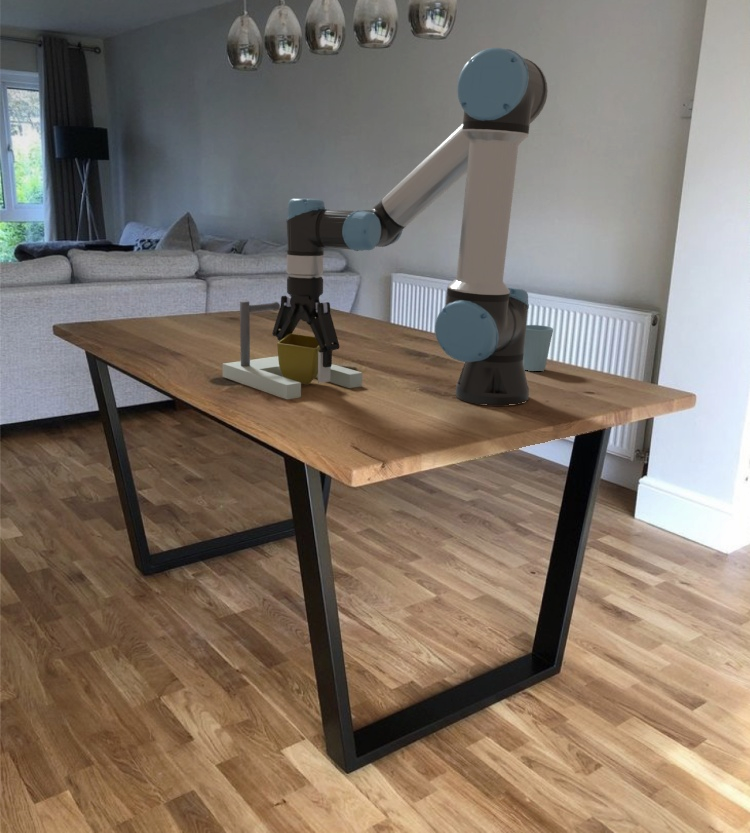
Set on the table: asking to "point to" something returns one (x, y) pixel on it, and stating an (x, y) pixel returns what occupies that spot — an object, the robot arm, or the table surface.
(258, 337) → the table surface
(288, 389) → the l-shaped hook stand
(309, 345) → the flower pot
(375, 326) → the table surface
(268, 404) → the table surface
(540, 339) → the cup
